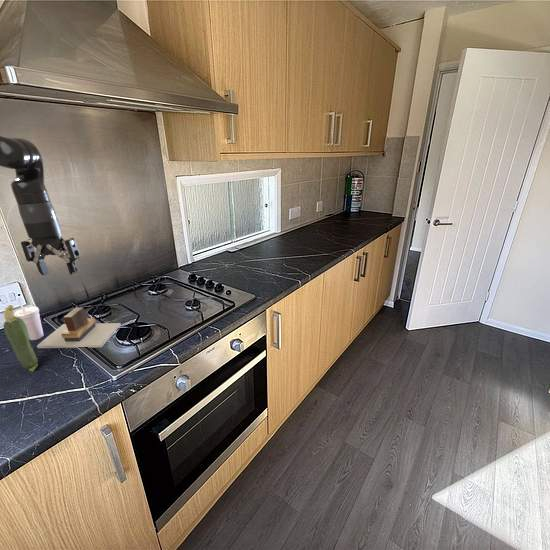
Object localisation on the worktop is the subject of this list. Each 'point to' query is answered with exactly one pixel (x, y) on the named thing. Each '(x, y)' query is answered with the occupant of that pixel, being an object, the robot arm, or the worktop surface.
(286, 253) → the worktop surface
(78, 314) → the brush
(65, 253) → the robot arm
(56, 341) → the tile
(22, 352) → the vegetable
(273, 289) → the worktop surface
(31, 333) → the smoothie
